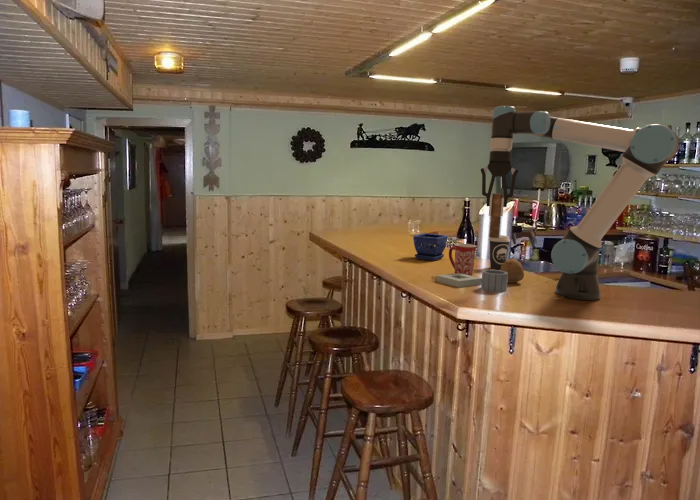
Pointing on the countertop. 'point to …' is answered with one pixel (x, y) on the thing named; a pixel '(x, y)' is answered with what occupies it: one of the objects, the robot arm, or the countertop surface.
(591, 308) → the countertop surface
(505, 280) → the cup
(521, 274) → the brown rounded lump
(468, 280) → the socket block
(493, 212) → the brown wooden bar
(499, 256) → the coffee cup
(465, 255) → the mug
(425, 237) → the flower pot
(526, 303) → the countertop surface
